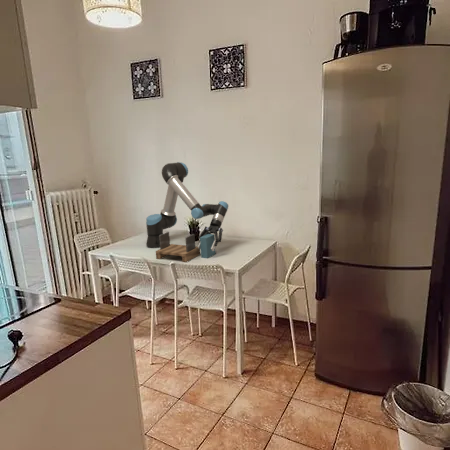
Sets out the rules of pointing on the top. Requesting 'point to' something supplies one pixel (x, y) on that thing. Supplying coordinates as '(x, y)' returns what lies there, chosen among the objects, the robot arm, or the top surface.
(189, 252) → the shelf
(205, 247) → the book
